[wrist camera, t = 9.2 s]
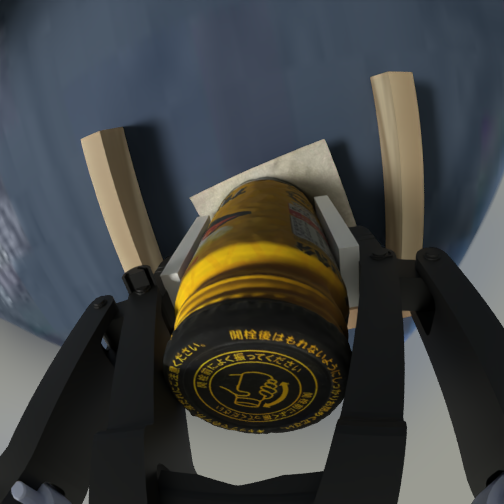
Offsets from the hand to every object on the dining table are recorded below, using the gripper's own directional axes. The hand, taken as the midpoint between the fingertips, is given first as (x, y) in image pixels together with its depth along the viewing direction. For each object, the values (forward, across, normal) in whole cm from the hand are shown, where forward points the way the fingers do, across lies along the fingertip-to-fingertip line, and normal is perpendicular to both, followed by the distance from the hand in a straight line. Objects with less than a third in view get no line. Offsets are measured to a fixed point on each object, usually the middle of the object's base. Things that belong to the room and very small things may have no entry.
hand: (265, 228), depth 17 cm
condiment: (+1, +1, 0) cm, 1 cm away
